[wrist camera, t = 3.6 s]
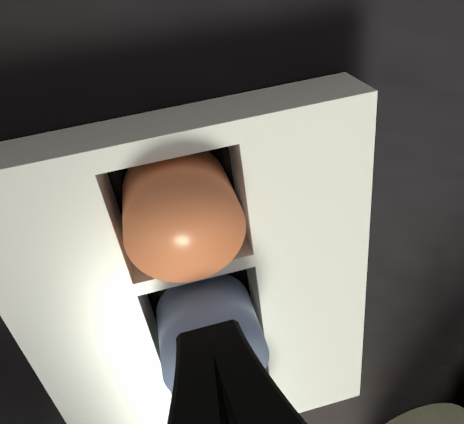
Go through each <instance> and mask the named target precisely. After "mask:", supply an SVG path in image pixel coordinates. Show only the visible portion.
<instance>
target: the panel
mask: <svg viewBox="0 0 464 424" xmlns="http://www.w3.org/2000/svg"><path fill="white" fill-rule="evenodd" d="M377 92H378V91H377V90H375V89H374V88H372V87H370V86H369V85H367V84H365V83H363V82H362V81H360V80H358V79H356V78H355V77H353V76H351V75H350V74H348V73H346V72H342V73H338V74H333V75H328V76H323V77H318V78H313V79H308V80H303V81H298V82H293V83H288V84H283V85H278V86H273V87H268V88H263V89H258V90H253V91H249V92H244V93H239V94H234V95H229V96H224V97H219V98H214V99H209V100H204V101H199V102H194V103H189V104H184V105H179V106H174V107H169V108H164V109H159V110H155V111H150V112H145V113H140V114H135V115H130V116H125V117H120V118H115V119H110V120H105V121H100V122H95V123H90V124H85V125H80V126H75V127H70V128H66V129H61V130H56V131H51V132H46V133H41V134H36V135H31V136H26V137H21V138H16V139H11V140H6V141H1V142H0V316H1V318H2V319H3V321H4V323H5V324H6V326H7V327H8V329H9V331H10V332H11V334H12V336H13V337H14V339H15V340H16V342H17V344H18V345H19V347H20V349H21V350H22V352H23V353H24V355H25V357H26V358H27V360H28V362H29V363H30V365H31V366H32V368H33V370H34V371H35V373H36V375H37V376H38V378H39V380H40V381H41V383H42V384H43V386H44V388H45V389H46V391H47V393H48V394H49V396H50V397H51V399H52V401H53V402H54V404H55V406H56V407H57V409H58V410H59V412H60V414H61V415H62V417H63V419H64V420H65V422H66V423H67V424H167V421H168V415H169V410H170V404H171V398H172V392H171V391H170V390H169V389H168V388H167V387H166V385H165V383H164V381H163V377H162V368H161V358H160V349H159V339H158V329H157V322H156V319H155V316H154V313H153V310H152V307H151V304H150V301H149V298H148V295H147V294H148V293H152V292H156V291H160V290H164V289H168V288H172V287H176V286H180V285H184V284H188V283H192V282H196V281H192V282H184V283H173V282H166V281H161V280H158V279H155V278H152V277H150V276H148V275H146V274H145V273H143V272H142V271H140V270H139V269H138V268H137V267H136V266H135V265H134V264H133V263H132V262H131V260H130V259H129V257H128V256H127V253H126V251H125V248H124V244H123V225H122V216H121V213H120V210H119V207H118V204H117V201H116V198H115V195H114V192H113V189H112V186H111V183H110V180H109V177H108V174H107V172H111V171H116V170H121V169H125V168H130V167H135V166H139V165H144V164H148V163H153V162H158V161H162V160H167V159H172V158H176V157H181V156H185V155H190V154H195V153H199V152H204V151H209V150H213V149H218V148H223V147H227V146H228V148H229V155H230V162H231V168H232V175H233V182H234V189H235V194H236V197H237V199H238V201H239V203H240V205H241V207H242V210H243V212H244V215H245V220H246V234H245V238H244V241H243V244H242V246H241V248H240V250H239V252H238V253H237V255H236V256H235V257H234V259H233V260H232V261H231V262H230V263H229V264H228V265H226V266H225V267H224V268H223V269H221V270H220V271H218V272H217V273H215V274H213V275H211V276H209V277H206V278H204V279H208V278H212V277H216V276H220V275H224V274H228V273H232V272H236V271H240V270H244V269H246V271H247V278H248V284H249V291H250V298H251V302H252V305H253V308H254V310H255V313H256V316H257V318H258V321H259V324H260V327H261V329H262V332H263V335H264V337H265V340H266V343H267V346H268V349H269V362H268V365H267V367H266V371H267V372H268V373H269V375H270V376H271V378H272V379H273V380H274V382H275V383H276V385H277V386H278V387H279V389H280V390H281V391H282V393H283V394H284V395H285V397H286V398H287V399H288V401H289V402H290V403H291V404H292V406H293V407H294V408H295V409H296V411H297V412H298V413H301V412H304V411H308V410H311V409H314V408H318V407H321V406H325V405H328V404H331V403H335V402H338V401H342V400H345V399H348V398H352V397H355V396H359V395H360V380H361V363H362V346H363V329H364V313H365V296H366V279H367V262H368V245H369V228H370V211H371V194H372V177H373V160H374V143H375V126H376V109H377ZM204 279H200V280H204ZM200 280H197V281H200Z"/></svg>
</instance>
